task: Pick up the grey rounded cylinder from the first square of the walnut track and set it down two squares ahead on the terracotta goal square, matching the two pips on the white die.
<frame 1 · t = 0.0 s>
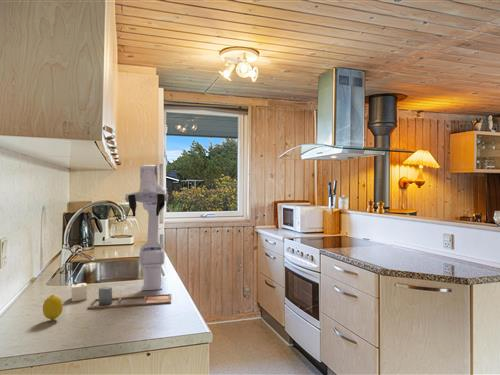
hand: (145, 214, 125), 32 cm above the worktop, tool tilted 50°, fingers open, 7 cm apart
lemon: (53, 321, 116), on the worktop
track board: (131, 301, 134), on the worktop
die: (79, 298, 139), on the worktop
grey rounded cylinder: (105, 303, 132), resting on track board
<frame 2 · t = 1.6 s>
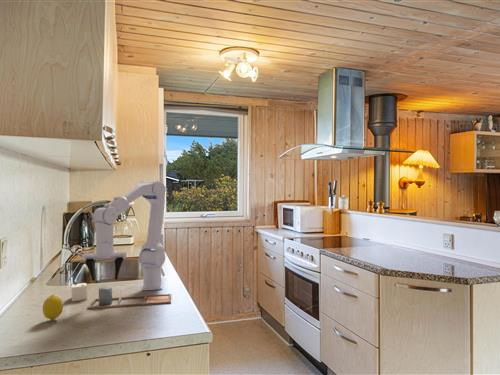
hand: (105, 279, 132), 9 cm above the worktop, tool pointing down, fingers open, 7 cm apart
nothing on the worktop moved.
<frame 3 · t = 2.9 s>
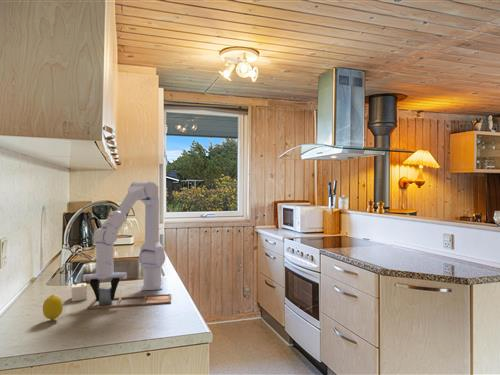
hand: (105, 299, 132), 1 cm above the worktop, tool pointing down, fingers closed on grey rounded cylinder, 4 cm apart
grey rounded cylinder: (105, 303, 132), resting on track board, touching gripper
everything else where it was.
when the fingers open (2 cm above the worktop, at t = 9.7 s): grey rounded cylinder stays where it is, resting on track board.
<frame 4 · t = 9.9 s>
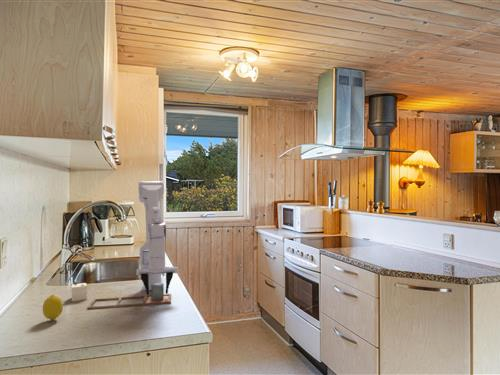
hand: (157, 293, 135), 2 cm above the worktop, tool pointing down, fingers open, 6 cm apart
grey rounded cylinder: (157, 299, 135), resting on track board
everything else where it was.
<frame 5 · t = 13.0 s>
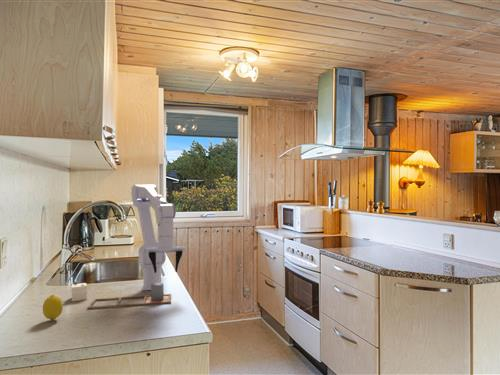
hand: (165, 271, 140), 9 cm above the worktop, tool pointing down, fingers open, 7 cm apart
nothing on the worktop moved.
at the end: grey rounded cylinder inside the target area (0.1 cm from its centre), resting on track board; grey rounded cylinder tilted 2°; the gripper is holding nothing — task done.
